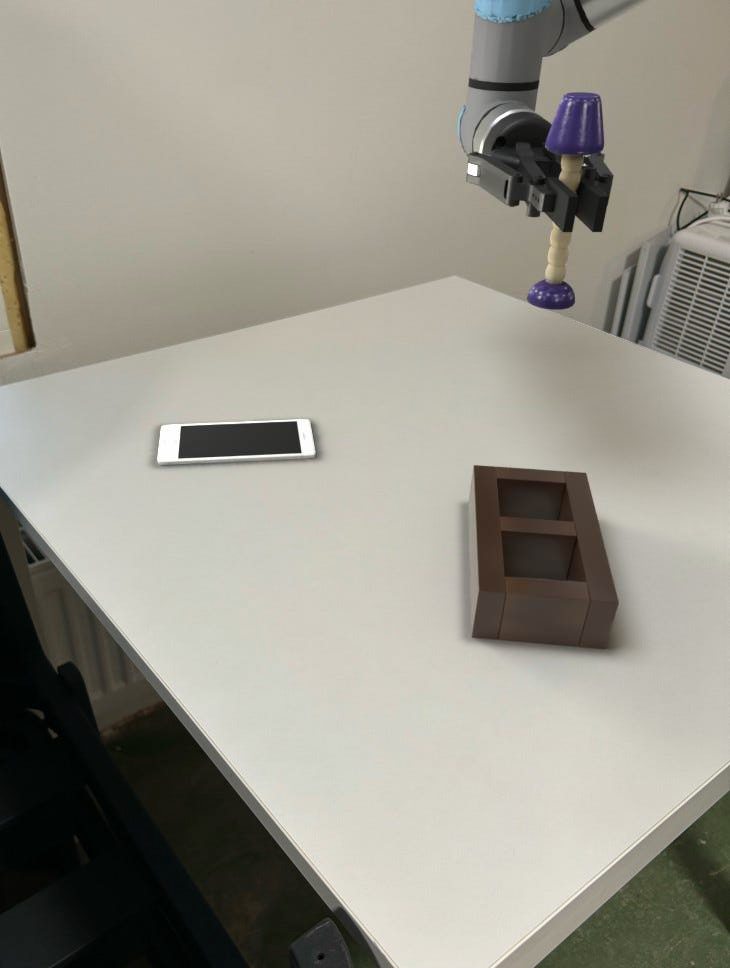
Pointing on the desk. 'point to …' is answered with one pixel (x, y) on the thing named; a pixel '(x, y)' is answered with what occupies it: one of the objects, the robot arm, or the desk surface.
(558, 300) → the toy lamp
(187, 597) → the desk surface
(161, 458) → the cell phone
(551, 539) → the stand
